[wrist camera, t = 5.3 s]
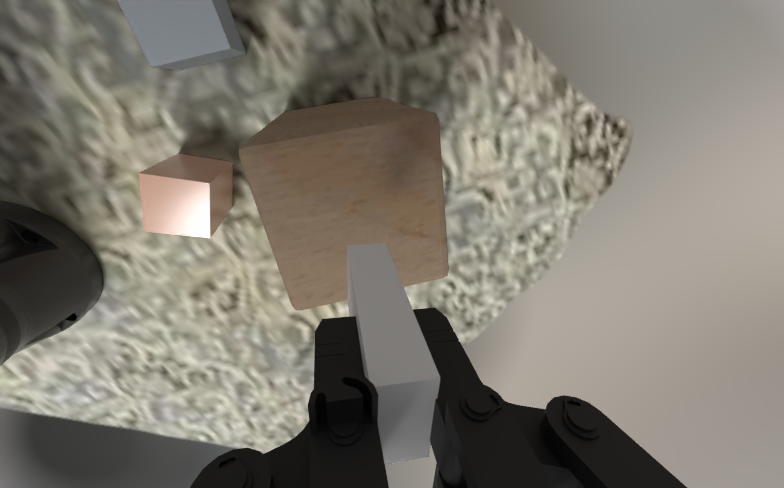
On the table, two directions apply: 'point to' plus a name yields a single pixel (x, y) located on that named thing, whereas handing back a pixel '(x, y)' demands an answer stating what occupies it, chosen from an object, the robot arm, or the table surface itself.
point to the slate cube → (183, 31)
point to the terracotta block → (186, 195)
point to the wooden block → (349, 193)
